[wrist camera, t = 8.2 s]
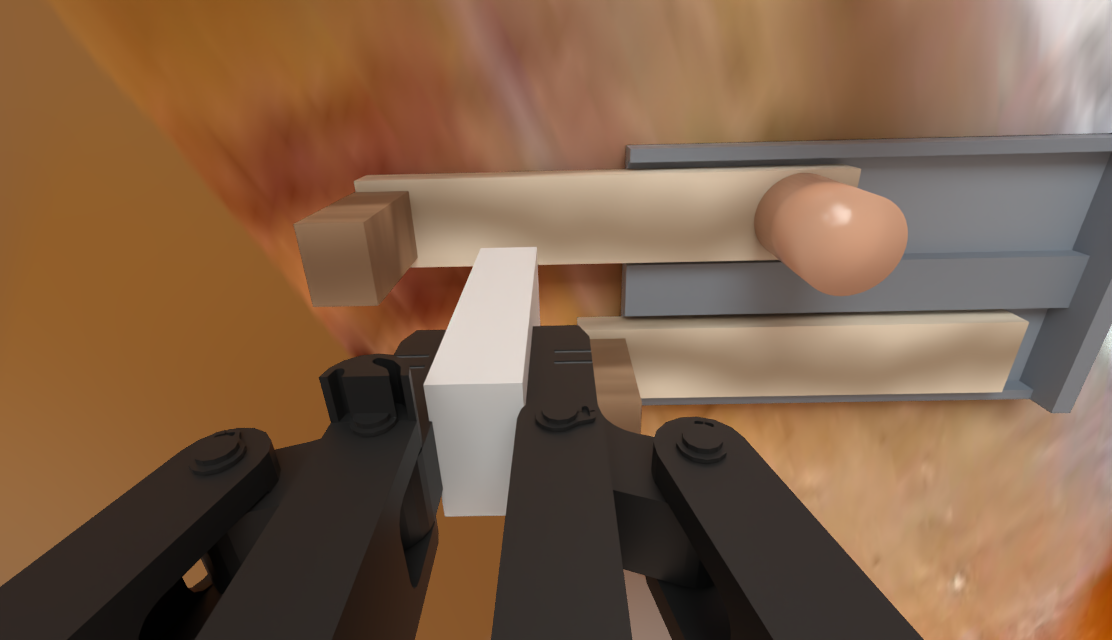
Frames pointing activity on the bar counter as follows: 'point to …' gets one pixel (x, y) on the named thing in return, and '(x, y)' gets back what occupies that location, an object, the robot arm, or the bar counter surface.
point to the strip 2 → (797, 355)
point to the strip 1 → (535, 221)
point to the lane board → (931, 249)
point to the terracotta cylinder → (831, 232)
